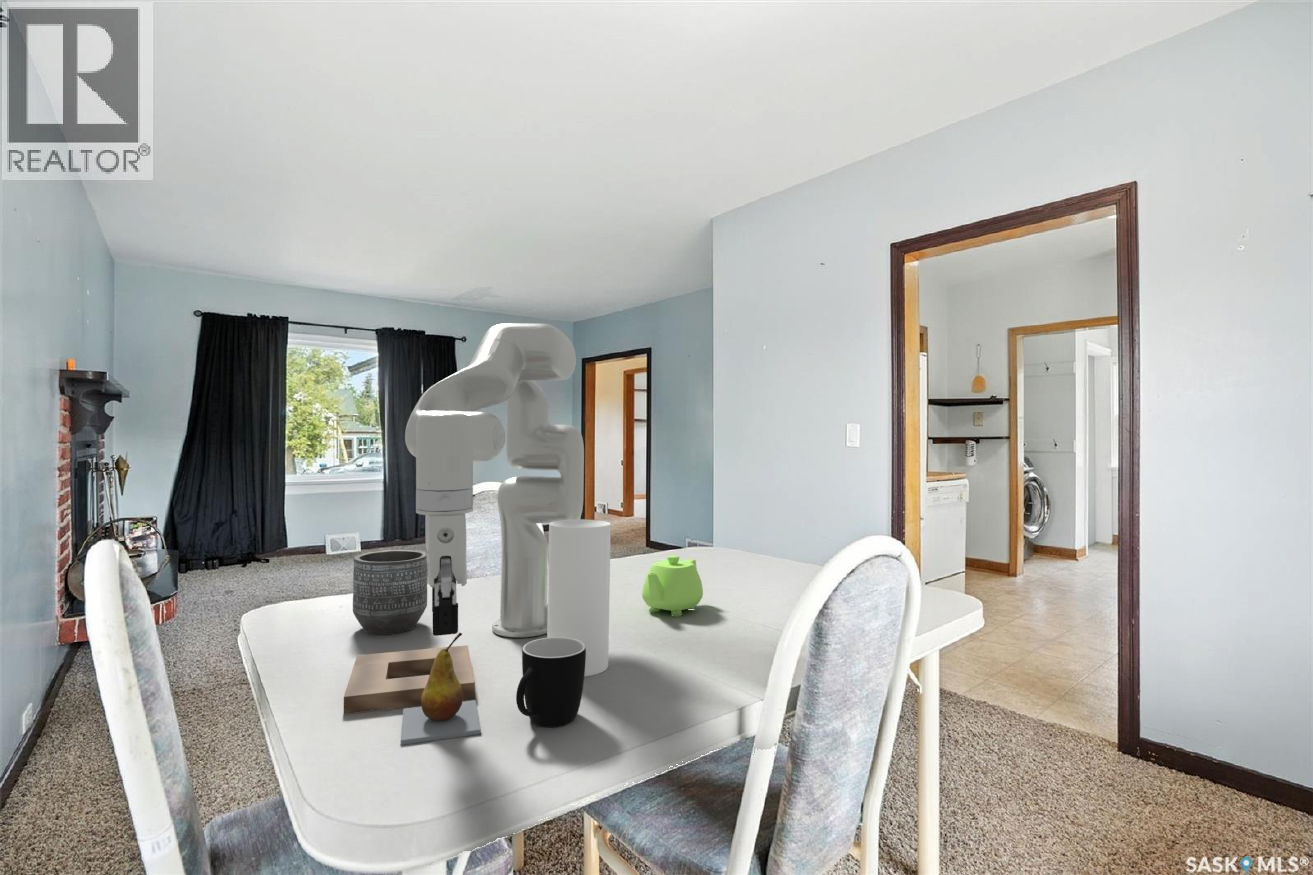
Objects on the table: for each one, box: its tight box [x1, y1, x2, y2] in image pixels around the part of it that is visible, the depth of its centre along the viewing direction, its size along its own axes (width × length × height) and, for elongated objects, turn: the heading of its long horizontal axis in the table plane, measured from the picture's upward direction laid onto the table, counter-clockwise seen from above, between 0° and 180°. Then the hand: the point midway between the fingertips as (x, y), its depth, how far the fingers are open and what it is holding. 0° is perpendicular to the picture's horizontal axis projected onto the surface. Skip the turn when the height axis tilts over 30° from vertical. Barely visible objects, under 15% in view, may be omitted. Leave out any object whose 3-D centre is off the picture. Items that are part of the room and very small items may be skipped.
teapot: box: [641, 555, 704, 617], centre depth 148 cm, size 20×13×13 cm
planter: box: [352, 549, 428, 636], centre depth 131 cm, size 14×14×15 cm
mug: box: [515, 637, 586, 728], centre depth 89 cm, size 12×9×10 cm
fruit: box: [420, 632, 464, 721], centre depth 88 cm, size 6×6×12 cm
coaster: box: [400, 699, 482, 746], centre depth 88 cm, size 10×10×1 cm
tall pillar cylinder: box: [546, 518, 612, 678], centre depth 111 cm, size 11×11×25 cm
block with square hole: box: [343, 644, 476, 715], centre depth 102 cm, size 18×18×2 cm
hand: (444, 622), depth 89 cm, fingers open, 9 cm apart
